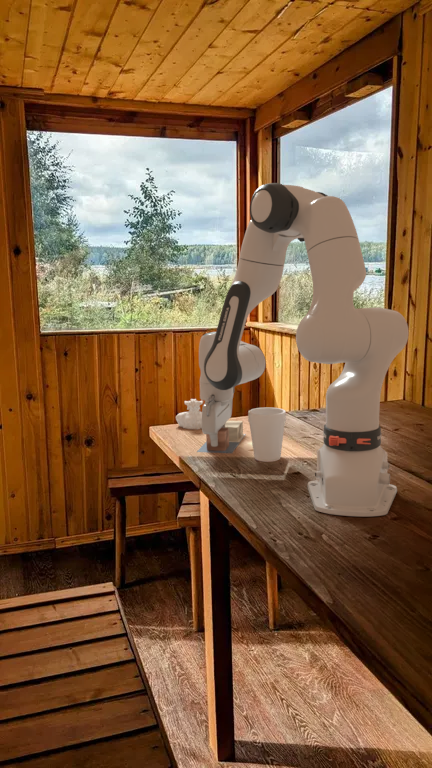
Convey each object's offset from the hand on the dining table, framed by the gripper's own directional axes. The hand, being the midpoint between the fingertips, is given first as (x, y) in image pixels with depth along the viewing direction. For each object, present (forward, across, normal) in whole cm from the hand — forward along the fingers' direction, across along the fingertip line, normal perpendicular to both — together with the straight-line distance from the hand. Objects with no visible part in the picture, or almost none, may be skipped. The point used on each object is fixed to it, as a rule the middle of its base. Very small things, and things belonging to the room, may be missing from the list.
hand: (218, 442), depth 162 cm
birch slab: (+2, +11, 0) cm, 11 cm away
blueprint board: (+3, +6, 0) cm, 6 cm away
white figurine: (+3, +22, +12) cm, 25 cm away
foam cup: (+3, -7, -14) cm, 16 cm away
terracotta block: (+2, 0, 0) cm, 2 cm away
